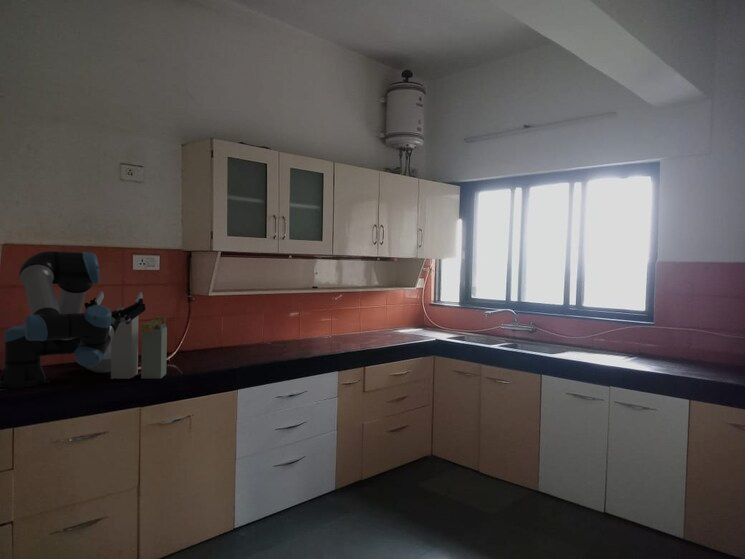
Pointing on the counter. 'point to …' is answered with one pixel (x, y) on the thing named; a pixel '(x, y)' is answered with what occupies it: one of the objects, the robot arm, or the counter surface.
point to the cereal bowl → (102, 364)
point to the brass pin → (152, 324)
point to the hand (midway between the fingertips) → (122, 294)
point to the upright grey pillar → (154, 353)
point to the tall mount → (125, 350)
